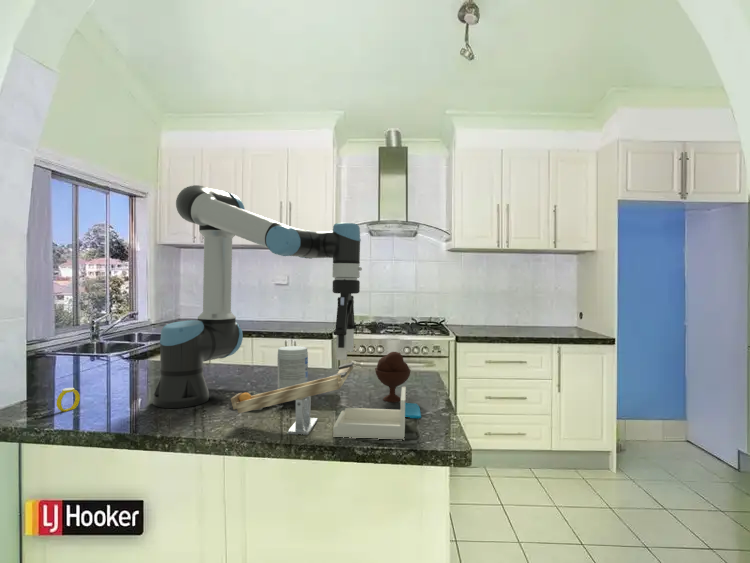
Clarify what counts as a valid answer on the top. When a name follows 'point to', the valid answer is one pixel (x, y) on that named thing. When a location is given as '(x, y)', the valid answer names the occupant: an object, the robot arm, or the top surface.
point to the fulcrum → (303, 417)
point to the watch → (59, 399)
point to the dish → (372, 422)
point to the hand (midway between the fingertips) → (345, 355)
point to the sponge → (412, 410)
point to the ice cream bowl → (392, 373)
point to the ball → (244, 397)
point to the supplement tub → (292, 366)
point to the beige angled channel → (293, 391)
